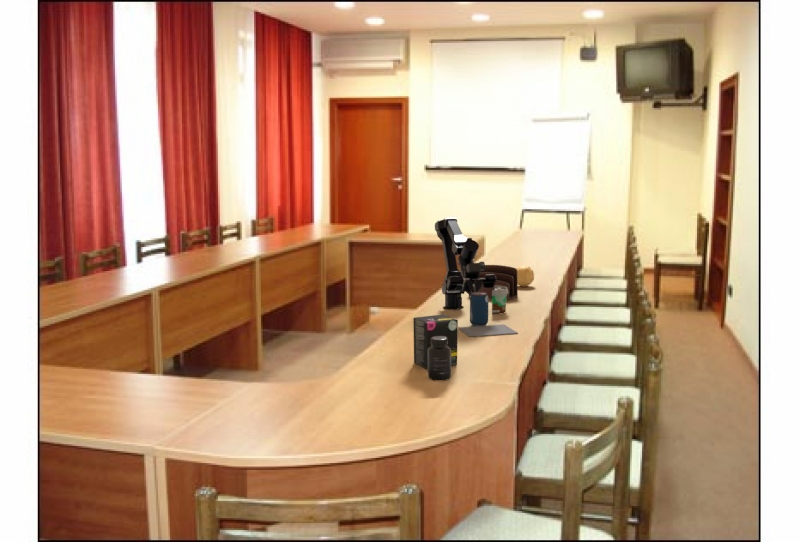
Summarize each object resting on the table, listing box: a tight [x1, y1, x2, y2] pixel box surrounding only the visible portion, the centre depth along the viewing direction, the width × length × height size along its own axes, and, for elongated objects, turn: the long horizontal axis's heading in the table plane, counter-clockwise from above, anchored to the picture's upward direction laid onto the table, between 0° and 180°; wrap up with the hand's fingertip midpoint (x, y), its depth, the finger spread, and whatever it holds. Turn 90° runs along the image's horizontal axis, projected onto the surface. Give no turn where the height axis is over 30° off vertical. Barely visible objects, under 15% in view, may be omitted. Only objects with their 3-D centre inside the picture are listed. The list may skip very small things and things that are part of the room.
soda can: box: [469, 292, 490, 326], centre depth 288 cm, size 7×7×12 cm
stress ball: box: [516, 265, 535, 288], centre depth 368 cm, size 10×10×10 cm
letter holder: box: [468, 264, 519, 301], centre depth 344 cm, size 10×20×14 cm, turn 59°
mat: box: [458, 323, 519, 338], centre depth 279 cm, size 14×18×1 cm
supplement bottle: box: [427, 336, 452, 381], centre depth 222 cm, size 7×7×12 cm
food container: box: [491, 285, 508, 315], centre depth 311 cm, size 12×6×10 cm, turn 168°
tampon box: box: [412, 314, 459, 371], centre depth 236 cm, size 11×9×15 cm
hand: (476, 300), depth 290 cm, fingers closed
